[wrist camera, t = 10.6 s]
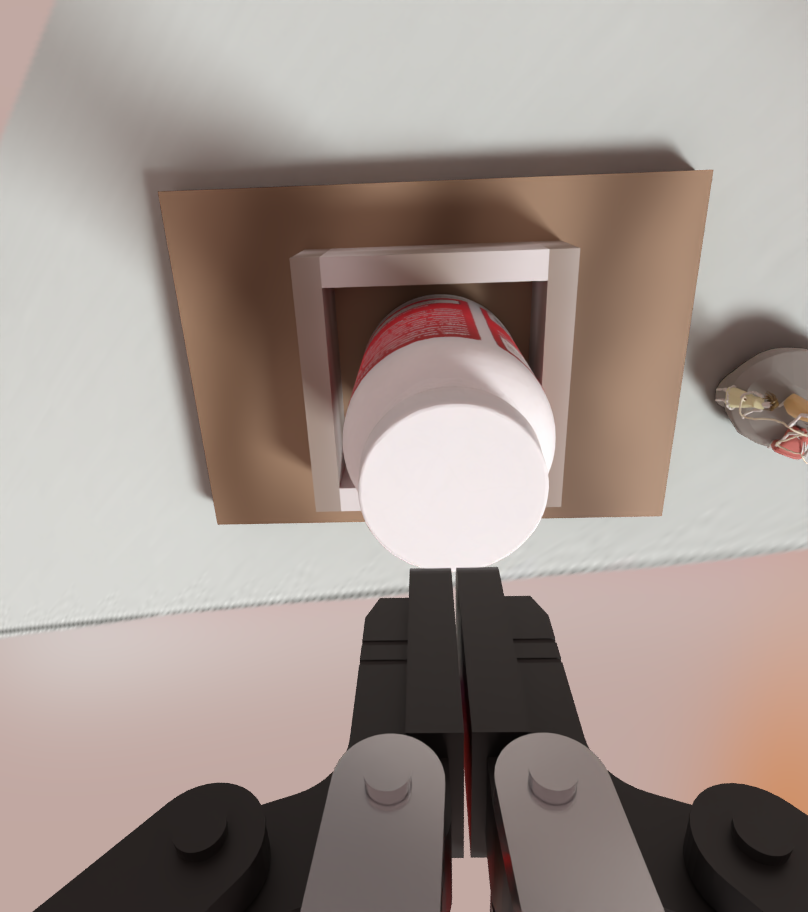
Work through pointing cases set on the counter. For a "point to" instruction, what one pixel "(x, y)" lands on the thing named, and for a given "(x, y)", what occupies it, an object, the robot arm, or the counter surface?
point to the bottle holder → (427, 273)
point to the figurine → (770, 400)
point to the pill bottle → (448, 436)
